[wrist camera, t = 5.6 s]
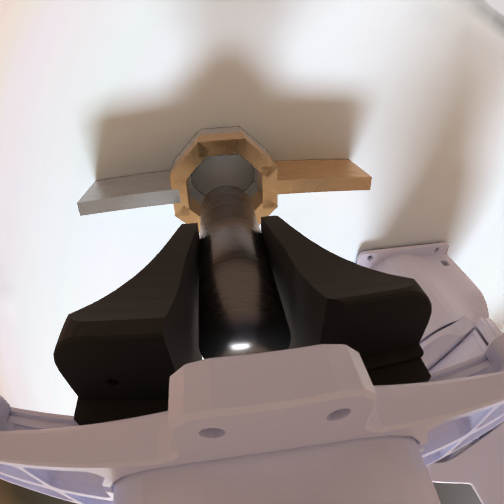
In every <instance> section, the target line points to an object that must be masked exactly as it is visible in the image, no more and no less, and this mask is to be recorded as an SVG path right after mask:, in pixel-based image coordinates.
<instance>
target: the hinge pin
mask: <svg viewBox="0 0 504 504" xmlns="http://www.w3.org/2000/svg"><path fill="white" fill-rule="evenodd" d="M198 330H199V350H200V353H201V355H202V357H203V358H204V359H208V358H216V357H227V356H237V355H247V354H255V353H264V352H272V351H279V350H286V349H288V348H289V346H290V343H291V333H290V329H289V326H288V322H287V319H286V315H285V312H284V309H283V305H282V302H281V298H280V295H279V292H278V288H277V285H276V281H275V278H274V275H273V271H272V268H271V265H270V261H269V258H268V254H267V251H266V248H265V244H264V241H263V238H262V235H261V231H260V228H259V225H258V221H257V218H256V215H255V211H254V208H253V205H252V202H251V199H250V198H249V196H248V195H247V194H246V193H245V192H244V191H243V190H241V189H239V188H237V187H233V186H222V187H218V188H216V189H214V190H212V191H211V192H209V193H208V194H207V195H206V197H205V198H204V200H203V202H202V205H201V218H200V254H199V311H198Z"/></svg>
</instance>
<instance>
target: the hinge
mask: <svg viewBox="0 0 504 504" xmlns="http://www.w3.org/2000/svg"><path fill="white" fill-rule="evenodd" d="M232 154H239V155H241V156H242V157H243V158H244V159H245V160H247V161H248V162H249V163H250V164H251V165H252V166H254V182H253V183H252V184H251V185H250V186H249V187H248V188H247V189H246V190H245V191H244V192H245V193H246V194H247V195H248V196H249V198H250V199H251V202H252V205H253V208H254V211H255V215H256V218H257V221H258V225H260V224H261V217H265V216H269V215H270V214H271V213H272V212H273V211H274V210H275V209H276V208H277V207H278V206H277V194H289V193H306V192H326V191H349V190H370V187H371V179H372V177H371V176H370V175H368V174H367V173H366V172H365V171H363V170H362V169H361V168H359V167H358V166H357V165H356V164H354V163H353V162H352V161H350V160H349V159H327V160H292V161H273V159H272V158H271V156H270V155H269V153H268V152H267V150H265V149H264V148H263V147H262V146H261V145H260V144H259V143H257V142H256V141H255V140H254V139H253V138H252V137H251V136H249V135H248V134H247V133H246V132H245V131H244V130H242V129H241V128H240V126H238V127H224V128H212V129H200V130H199V132H198V133H197V134H196V135H195V136H194V137H193V138H192V140H191V141H190V142H189V143H188V144H187V145H186V147H185V148H184V149H183V150H182V151H181V153H180V154H179V155H178V156H177V157H176V159H175V162H174V164H173V167H172V170H168V171H160V172H152V173H145V174H137V175H130V176H124V177H117V178H111V179H105V180H99V181H95V182H94V184H93V185H92V186H91V187H90V188H89V189H88V191H87V192H86V193H85V194H84V195H83V196H82V198H81V199H80V200H79V201H78V203H77V205H78V208H79V212H80V215H81V216H82V215H88V214H95V213H102V212H109V211H116V210H124V209H131V208H139V207H147V206H156V205H164V204H173V203H174V209H175V216H176V217H178V218H179V219H180V220H182V221H183V222H185V223H186V224H189V223H198V229H199V233H200V218H201V205H202V202H203V200H204V198H205V197H206V196H205V195H203V194H202V193H201V192H199V191H198V190H197V189H195V188H194V187H193V186H192V181H191V173H192V172H193V171H194V170H195V169H196V168H197V167H198V165H199V164H200V163H201V162H202V161H203V160H204V159H205V157H209V156H220V155H232Z"/></svg>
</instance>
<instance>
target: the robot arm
mask: <svg viewBox="0 0 504 504" xmlns="http://www.w3.org/2000/svg"><path fill="white" fill-rule="evenodd" d="M261 235H262V238H263V241H264V244H265V248H266V251H267V254H268V258H269V261H270V265H271V268H272V271H273V275H274V278H275V281H276V285H277V288H278V292H279V295H280V298H281V302H282V305H283V309H284V312H285V315H286V319H287V322H288V326H289V329H290V333H291V343H290V346H289V348H288V349H286V350H279V351H272V352H264V353H255V354H247V355H237V356H227V357H216V358H208V359H204V360H202V355H201V353H200V350H199V330H198V311H199V254H200V237H199V229H198V223H189V224H182V225H181V226H180V227H179V228H178V229H177V231H176V232H175V233H174V235H173V236H172V237H171V239H170V240H169V241H168V243H167V244H166V245H165V246H164V247H163V249H162V250H161V251H160V252H159V253H158V254H157V255H156V257H155V258H154V259H153V260H152V261H151V262H150V263H149V264H148V265H147V266H146V267H145V268H144V269H143V270H141V271H140V272H139V273H138V274H137V275H136V276H134V277H133V278H132V279H130V280H129V281H128V282H126V283H125V284H123V285H122V286H121V287H119V288H118V289H117V290H115V291H113V292H112V293H110V294H109V295H107V296H105V297H104V298H102V299H100V300H98V301H96V302H94V303H93V304H91V305H88V306H86V307H84V308H82V309H80V310H78V311H75V312H73V313H71V314H68V316H67V319H66V321H65V323H64V325H63V328H62V331H61V333H60V336H59V339H58V341H57V344H56V347H55V351H54V354H53V355H54V361H55V364H56V366H57V368H58V369H59V371H60V373H61V374H62V375H63V377H64V378H65V380H66V381H67V382H68V384H69V385H70V386H71V388H72V389H73V390H74V392H75V393H76V394H77V395H78V400H77V405H76V409H75V414H74V416H68V415H59V414H51V413H43V412H37V411H30V410H24V409H18V408H13V407H11V406H10V405H9V404H8V402H7V401H6V400H5V399H4V398H3V397H2V396H1V395H0V479H2V480H5V481H8V482H10V483H13V484H16V485H19V486H22V487H25V488H28V489H31V490H34V491H37V492H40V493H43V494H46V495H49V496H52V497H56V498H59V499H63V500H66V501H70V502H74V503H78V504H441V503H440V501H439V498H438V496H437V493H436V490H435V487H434V485H433V482H439V483H465V484H471V485H472V487H473V489H474V490H475V492H476V494H477V496H478V497H479V499H480V501H481V502H482V504H504V333H501V332H500V330H499V329H498V328H497V326H496V325H495V324H494V322H493V321H492V320H491V319H489V315H488V308H487V304H486V301H485V299H484V296H483V295H482V293H481V291H480V290H479V289H478V288H477V286H476V285H475V284H474V283H473V282H472V281H471V280H470V279H469V277H468V276H467V275H466V274H465V273H464V272H463V271H462V270H461V269H460V268H459V267H458V266H457V264H456V263H455V262H454V261H453V260H452V259H451V258H450V257H449V256H448V255H447V251H448V244H446V243H445V242H442V243H433V244H424V245H415V246H406V247H397V248H388V249H379V250H369V251H363V252H361V253H360V254H359V255H358V258H357V263H353V262H351V261H348V260H346V259H344V258H341V257H339V256H337V255H335V254H333V253H331V252H329V251H327V250H326V249H324V248H322V247H320V246H319V245H317V244H316V243H314V242H312V241H311V240H309V239H308V238H306V237H305V236H303V235H302V234H301V233H299V232H298V231H297V230H295V229H294V228H293V227H291V226H290V225H289V224H287V223H286V222H285V221H284V220H282V219H281V218H280V217H278V216H265V217H261ZM370 255H371V257H370V258H368V257H369V256H370Z"/></svg>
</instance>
